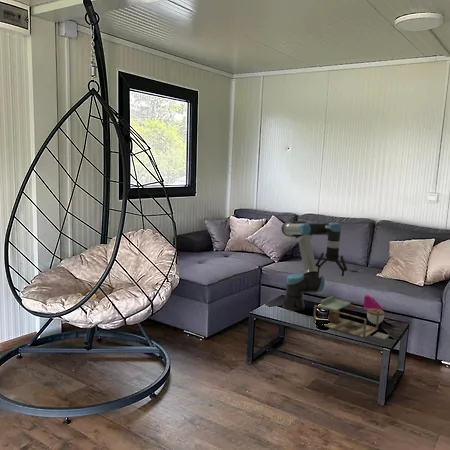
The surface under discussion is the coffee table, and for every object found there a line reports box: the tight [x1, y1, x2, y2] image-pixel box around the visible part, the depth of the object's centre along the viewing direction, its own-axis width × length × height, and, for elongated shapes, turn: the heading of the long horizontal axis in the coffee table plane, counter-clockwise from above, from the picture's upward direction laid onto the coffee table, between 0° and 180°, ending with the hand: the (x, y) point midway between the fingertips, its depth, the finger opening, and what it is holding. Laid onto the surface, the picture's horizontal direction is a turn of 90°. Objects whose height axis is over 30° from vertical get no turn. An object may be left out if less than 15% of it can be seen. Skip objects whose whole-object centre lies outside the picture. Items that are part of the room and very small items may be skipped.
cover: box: [318, 295, 352, 311], centre depth 284 cm, size 12×20×3 cm, turn 139°
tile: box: [373, 331, 390, 340], centre depth 266 cm, size 7×7×1 cm
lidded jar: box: [366, 308, 385, 325], centre depth 288 cm, size 11×11×9 cm
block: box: [328, 309, 341, 323], centre depth 285 cm, size 5×5×10 cm
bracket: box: [363, 294, 383, 310], centre depth 314 cm, size 12×10×10 cm
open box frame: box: [312, 303, 379, 339], centre depth 280 cm, size 34×20×11 cm, turn 49°
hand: (330, 279), depth 289 cm, fingers open, 13 cm apart
